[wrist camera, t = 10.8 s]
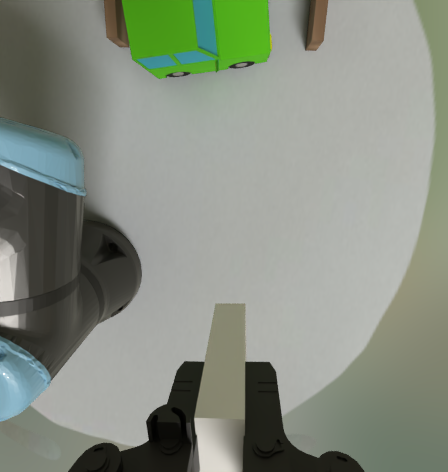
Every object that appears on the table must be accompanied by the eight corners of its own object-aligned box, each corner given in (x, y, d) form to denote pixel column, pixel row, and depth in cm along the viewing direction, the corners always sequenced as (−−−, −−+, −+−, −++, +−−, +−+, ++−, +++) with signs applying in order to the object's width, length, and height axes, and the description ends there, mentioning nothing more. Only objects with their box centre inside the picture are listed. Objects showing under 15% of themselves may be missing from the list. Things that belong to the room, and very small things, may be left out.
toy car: (270, 75, 36) (278, 51, 26) (163, 89, 37) (134, 71, 28) (264, -28, 33) (271, -97, 23) (148, -8, 34) (110, -65, 25)
